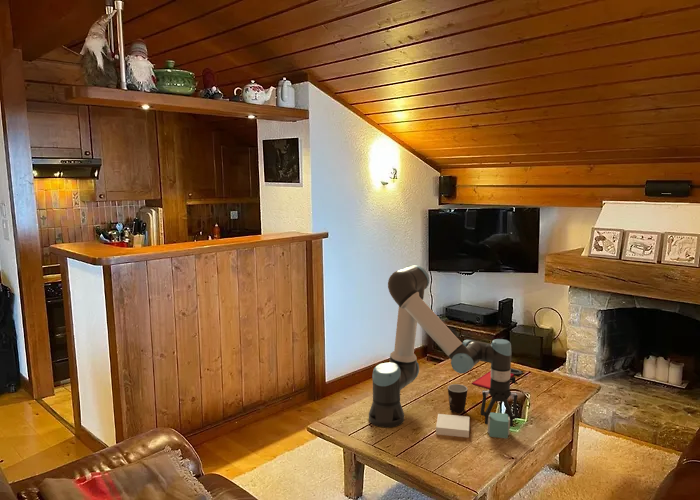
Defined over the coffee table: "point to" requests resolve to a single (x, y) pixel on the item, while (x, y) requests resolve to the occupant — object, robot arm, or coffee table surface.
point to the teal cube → (498, 425)
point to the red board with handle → (486, 378)
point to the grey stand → (452, 425)
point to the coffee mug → (457, 397)
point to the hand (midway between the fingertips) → (498, 432)
